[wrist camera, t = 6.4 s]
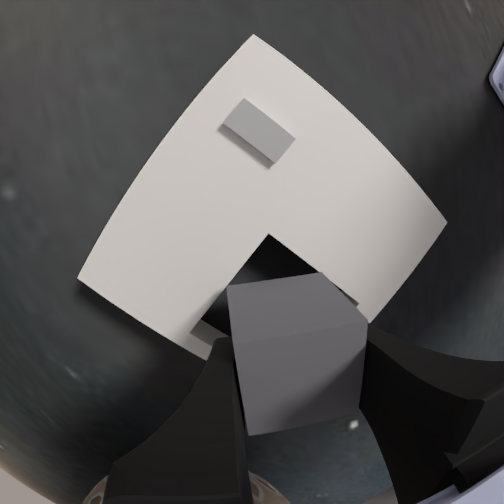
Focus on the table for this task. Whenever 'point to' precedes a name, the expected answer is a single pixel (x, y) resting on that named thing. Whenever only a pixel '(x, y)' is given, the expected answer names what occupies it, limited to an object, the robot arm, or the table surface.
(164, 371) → the table surface
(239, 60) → the socket
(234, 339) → the plug
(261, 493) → the ornament
